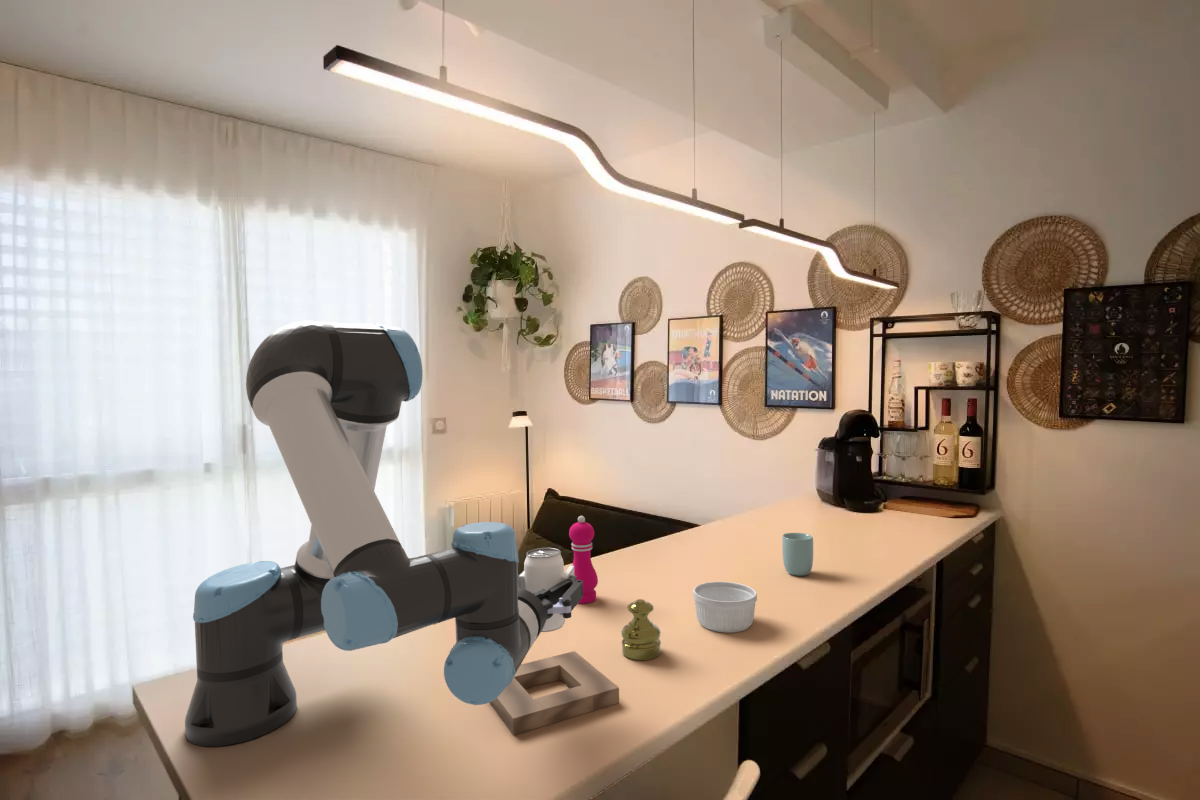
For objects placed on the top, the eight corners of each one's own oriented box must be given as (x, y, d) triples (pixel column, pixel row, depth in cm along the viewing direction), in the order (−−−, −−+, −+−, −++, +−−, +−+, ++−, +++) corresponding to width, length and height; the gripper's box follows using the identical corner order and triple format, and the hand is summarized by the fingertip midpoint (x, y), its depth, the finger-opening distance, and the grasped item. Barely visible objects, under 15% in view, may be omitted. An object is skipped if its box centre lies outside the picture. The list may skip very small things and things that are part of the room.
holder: (513, 735, 92) (513, 718, 92) (479, 689, 106) (479, 674, 106) (619, 702, 100) (618, 687, 100) (575, 664, 114) (574, 650, 114)
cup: (809, 569, 168) (809, 532, 168) (816, 578, 160) (816, 539, 160) (780, 569, 169) (779, 532, 169) (785, 578, 161) (785, 539, 161)
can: (545, 614, 107) (543, 545, 106) (573, 623, 103) (571, 550, 102) (517, 626, 102) (515, 553, 102) (545, 636, 98) (543, 560, 97)
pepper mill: (571, 606, 144) (569, 520, 144) (565, 596, 151) (563, 514, 151) (601, 602, 146) (600, 517, 146) (593, 592, 153) (592, 511, 153)
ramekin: (758, 614, 137) (757, 583, 137) (756, 638, 124) (755, 603, 124) (697, 609, 141) (696, 579, 140) (689, 632, 128) (689, 599, 128)
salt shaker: (615, 648, 121) (614, 597, 121) (650, 642, 124) (649, 592, 123) (631, 664, 114) (630, 610, 114) (667, 657, 117) (666, 604, 116)
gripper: (445, 649, 86) (498, 593, 109) (583, 655, 83) (608, 596, 106) (443, 595, 86) (496, 550, 109) (582, 599, 83) (607, 552, 106)
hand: (551, 573), depth 107 cm, fingers closed on can, 6 cm apart
